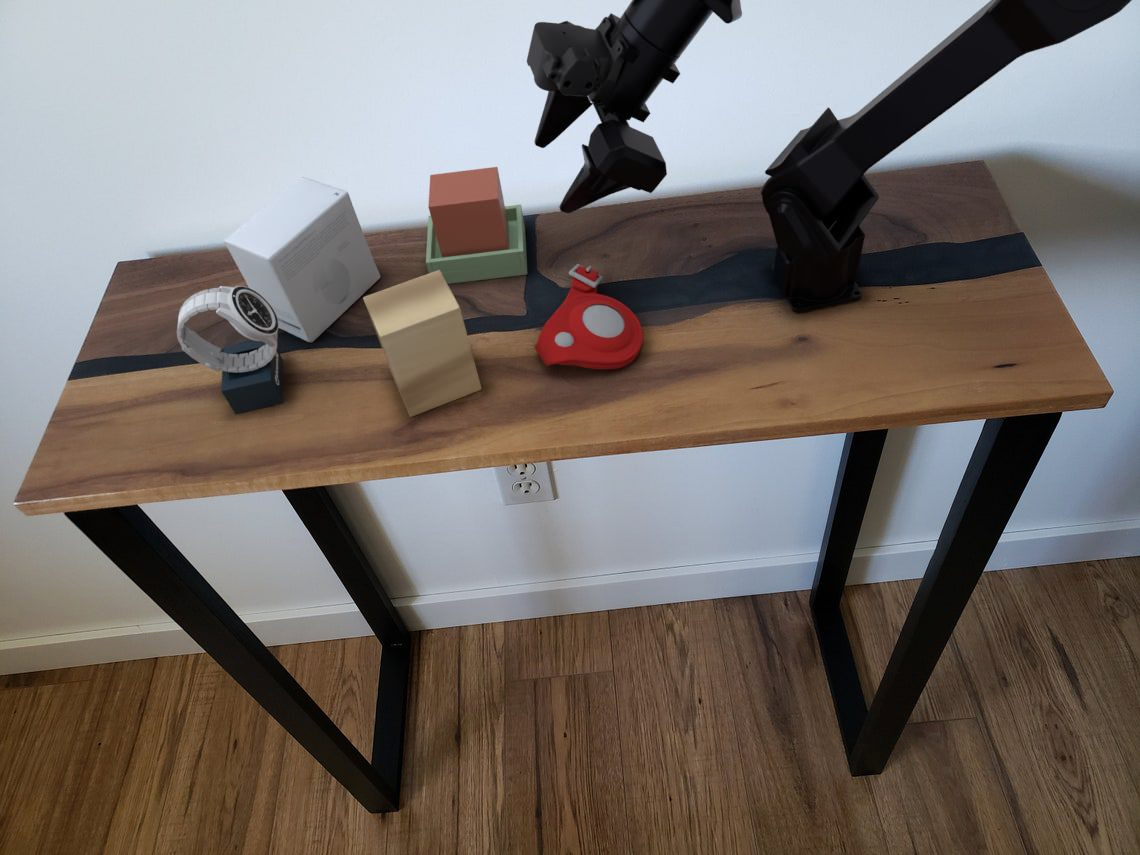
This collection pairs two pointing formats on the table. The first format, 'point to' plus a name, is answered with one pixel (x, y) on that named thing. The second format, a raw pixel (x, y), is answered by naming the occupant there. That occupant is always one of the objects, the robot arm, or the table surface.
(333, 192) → the cosmetics box
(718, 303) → the table surface
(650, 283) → the table surface
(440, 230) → the reddish brown rectangular block
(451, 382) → the block
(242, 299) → the watch
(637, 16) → the robot arm
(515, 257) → the tray
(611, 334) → the tracker holder
